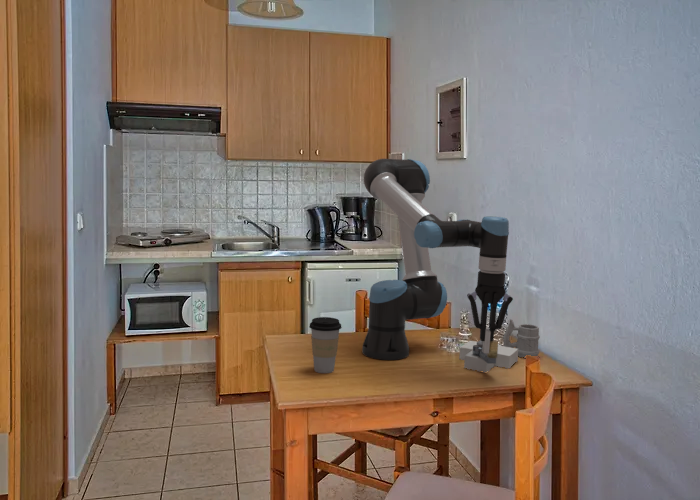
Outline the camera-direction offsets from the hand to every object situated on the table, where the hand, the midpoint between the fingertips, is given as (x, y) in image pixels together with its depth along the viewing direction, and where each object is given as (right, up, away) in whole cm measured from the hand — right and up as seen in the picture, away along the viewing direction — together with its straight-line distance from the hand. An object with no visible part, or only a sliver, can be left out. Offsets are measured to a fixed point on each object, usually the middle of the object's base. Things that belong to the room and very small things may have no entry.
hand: (485, 351), depth 183 cm
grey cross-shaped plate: (+5, -6, +19) cm, 20 cm away
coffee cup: (-47, -6, +3) cm, 47 cm away
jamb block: (0, -7, +11) cm, 13 cm away
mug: (+17, -5, +26) cm, 31 cm away
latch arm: (+1, -3, +6) cm, 7 cm away
